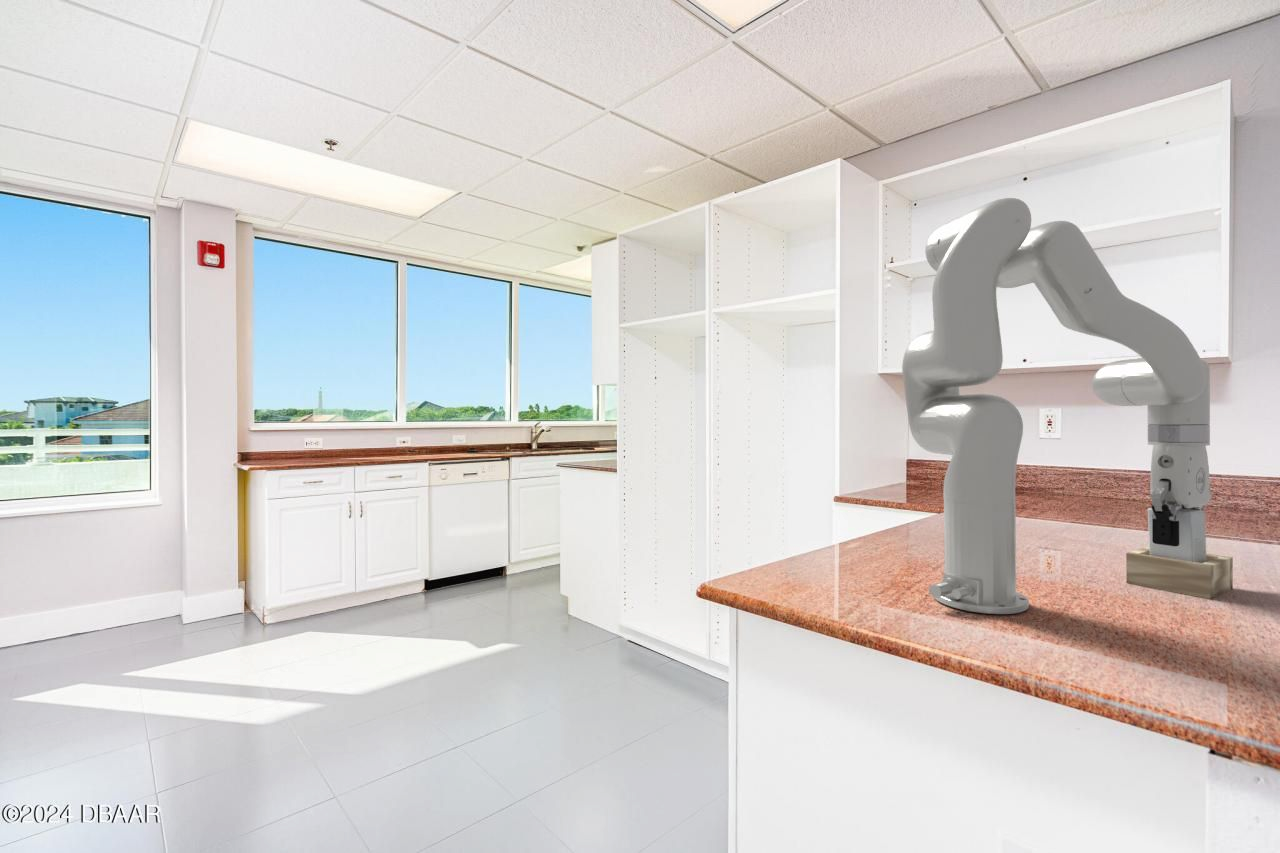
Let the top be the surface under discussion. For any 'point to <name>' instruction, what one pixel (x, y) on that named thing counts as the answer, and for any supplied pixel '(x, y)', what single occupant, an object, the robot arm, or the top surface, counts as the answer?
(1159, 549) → the skincare box
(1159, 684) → the top surface
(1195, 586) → the well block
